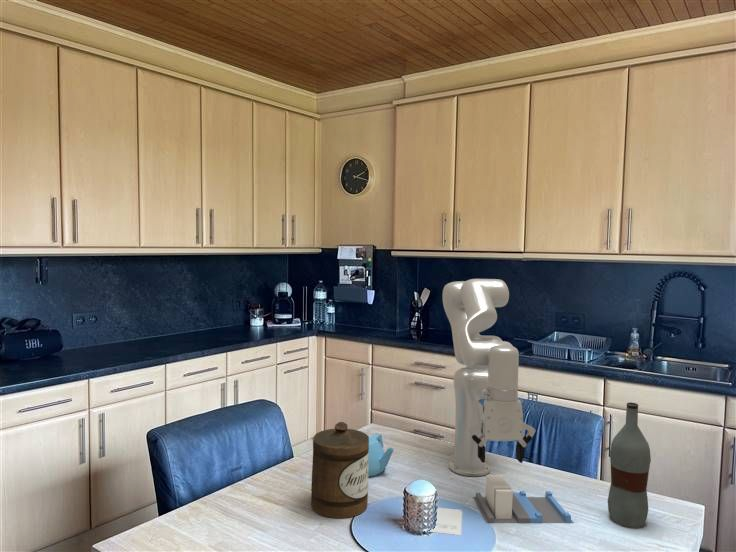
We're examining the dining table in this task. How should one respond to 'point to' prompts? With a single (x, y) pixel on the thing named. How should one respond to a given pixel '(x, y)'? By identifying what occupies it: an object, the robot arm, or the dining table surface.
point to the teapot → (377, 455)
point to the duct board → (527, 510)
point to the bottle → (629, 473)
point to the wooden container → (340, 472)
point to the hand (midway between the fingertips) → (500, 460)
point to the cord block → (499, 496)
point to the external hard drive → (448, 522)
